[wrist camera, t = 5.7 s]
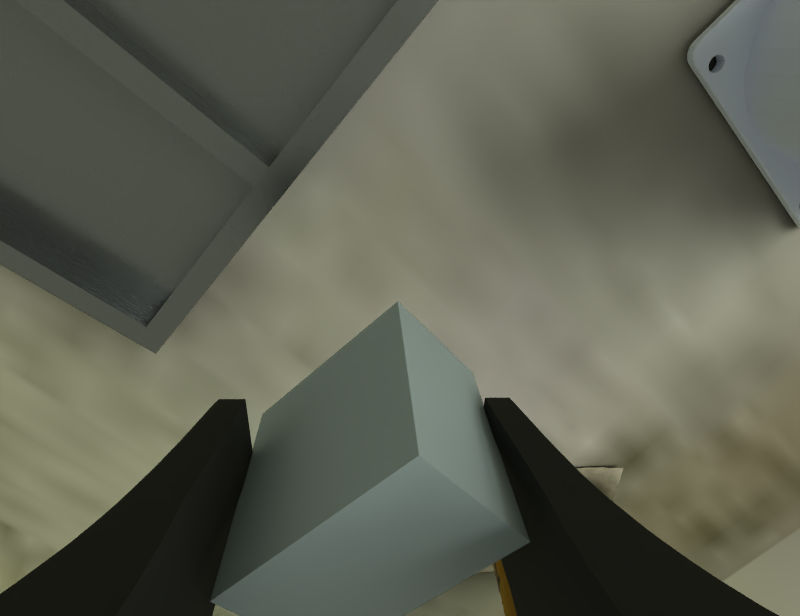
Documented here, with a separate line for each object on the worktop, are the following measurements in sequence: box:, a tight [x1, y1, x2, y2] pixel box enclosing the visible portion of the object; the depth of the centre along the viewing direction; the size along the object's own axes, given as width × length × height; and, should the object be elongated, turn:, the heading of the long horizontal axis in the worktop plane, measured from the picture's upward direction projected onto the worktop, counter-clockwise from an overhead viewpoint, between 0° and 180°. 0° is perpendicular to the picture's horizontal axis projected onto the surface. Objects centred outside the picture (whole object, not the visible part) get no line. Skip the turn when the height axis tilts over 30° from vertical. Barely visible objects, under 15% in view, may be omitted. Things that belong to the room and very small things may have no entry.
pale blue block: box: [210, 302, 530, 616], centre depth 11 cm, size 3×5×5 cm, turn 132°
